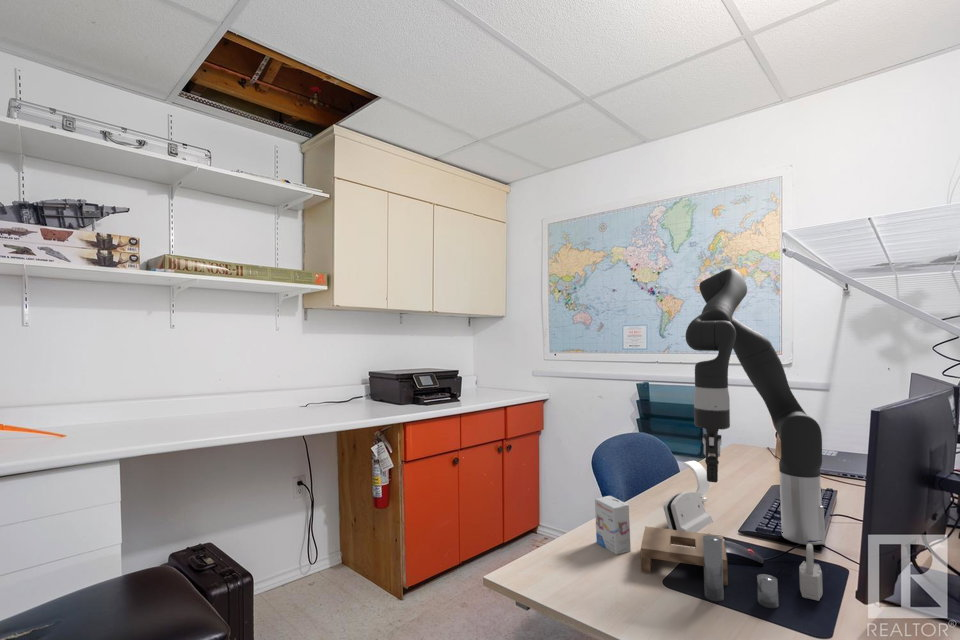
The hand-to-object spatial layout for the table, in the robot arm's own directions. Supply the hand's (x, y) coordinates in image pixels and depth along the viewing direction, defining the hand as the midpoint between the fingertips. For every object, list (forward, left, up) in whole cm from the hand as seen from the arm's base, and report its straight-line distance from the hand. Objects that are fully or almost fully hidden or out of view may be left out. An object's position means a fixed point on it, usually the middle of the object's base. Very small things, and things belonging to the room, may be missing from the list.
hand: (712, 476), depth 116 cm
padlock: (-18, +3, -22) cm, 29 cm away
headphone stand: (+3, -52, -22) cm, 57 cm away
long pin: (+1, +12, -22) cm, 25 cm away
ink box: (+24, -6, -22) cm, 33 cm away
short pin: (-9, +11, -22) cm, 26 cm away
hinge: (+6, -28, -22) cm, 36 cm away
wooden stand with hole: (+7, -1, -22) cm, 23 cm away
